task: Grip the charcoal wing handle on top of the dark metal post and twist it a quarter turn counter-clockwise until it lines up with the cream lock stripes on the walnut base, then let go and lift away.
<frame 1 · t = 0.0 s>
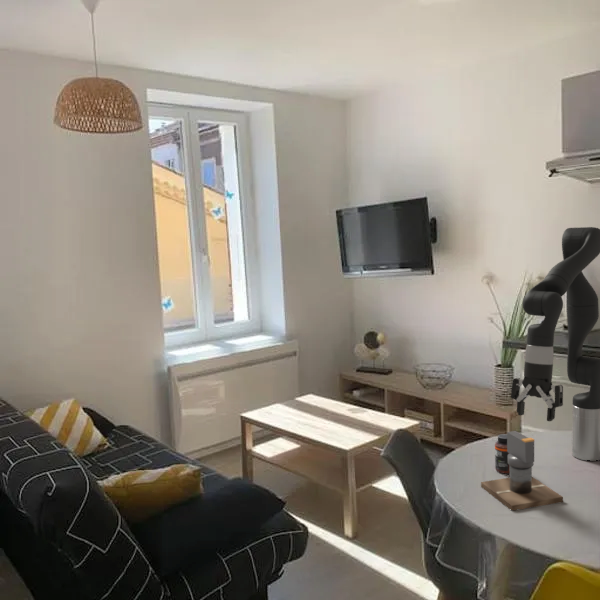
hand: (535, 417, 172), 22 cm above the table, tool pointing down, fingers open, 8 cm apart
wing cap: (520, 449, 172), point 14 cm above the table, hinge at 0.0°
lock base: (520, 494, 174), on the table
supplement bottle: (505, 471, 190), on the table
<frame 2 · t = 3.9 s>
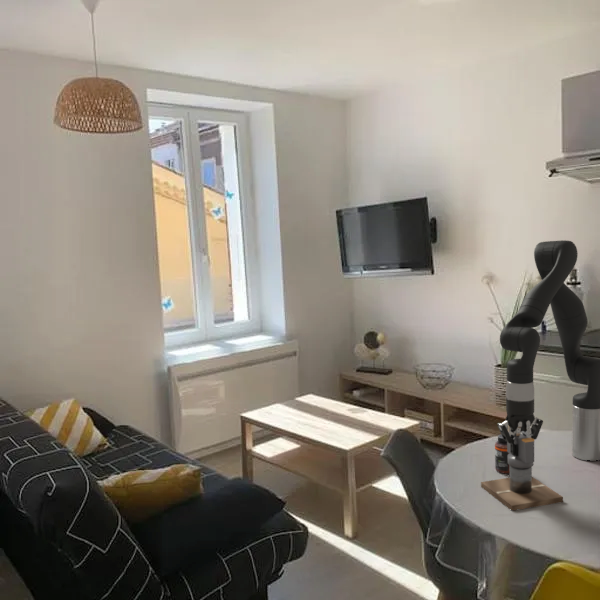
hand: (520, 454, 172), 12 cm above the table, tool pointing down, fingers closed on wing cap, 3 cm apart
wing cap: (520, 449, 172), point 14 cm above the table, hinge at 0.0°, touching gripper
everything else where it was.
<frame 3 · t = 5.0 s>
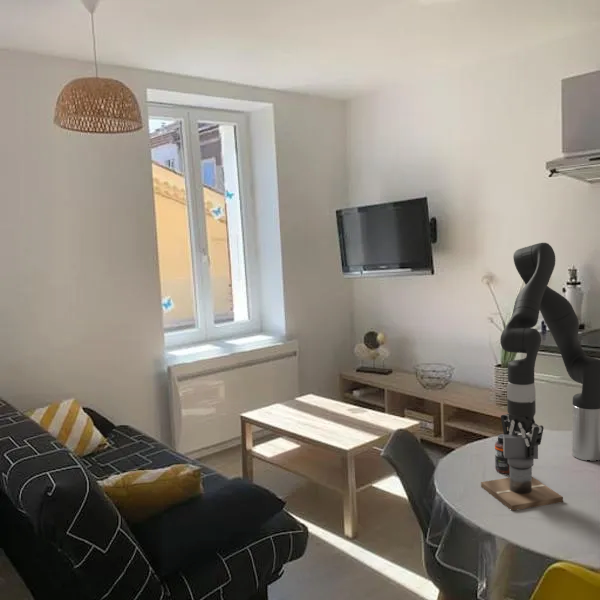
hand: (521, 454, 172), 12 cm above the table, tool pointing down, fingers closed on wing cap, 5 cm apart
wing cap: (520, 449, 172), point 14 cm above the table, hinge at 65.8°, touching gripper
everything else where it was.
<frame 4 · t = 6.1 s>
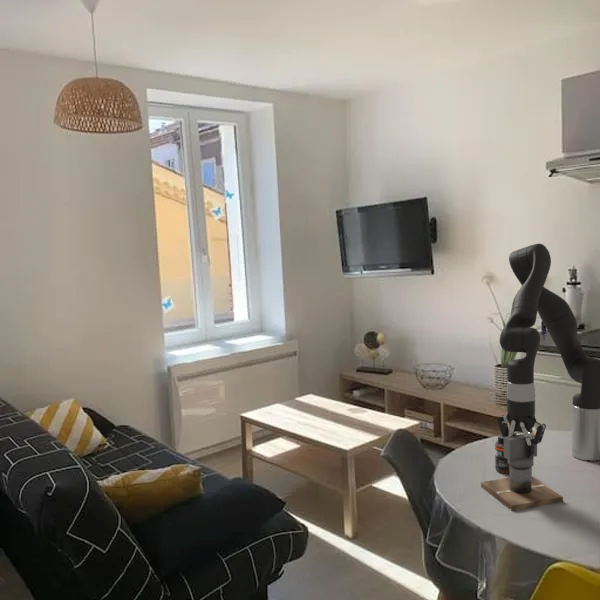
hand: (521, 454, 172), 12 cm above the table, tool pointing down, fingers closed on wing cap, 4 cm apart
wing cap: (520, 449, 172), point 14 cm above the table, hinge at 91.9°, touching gripper
everything else where it was.
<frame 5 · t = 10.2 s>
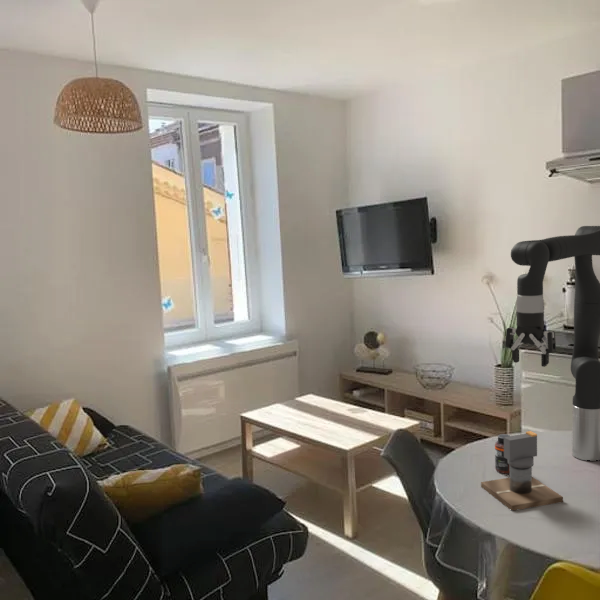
hand: (530, 364, 178), 36 cm above the table, tool pointing down, fingers open, 8 cm apart
wing cap: (520, 449, 172), point 14 cm above the table, hinge at 92.6°
everything else where it was.
at the end: wing cap at +93° (first picture: +0°); supplement bottle moved 0.2 cm from its start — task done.
